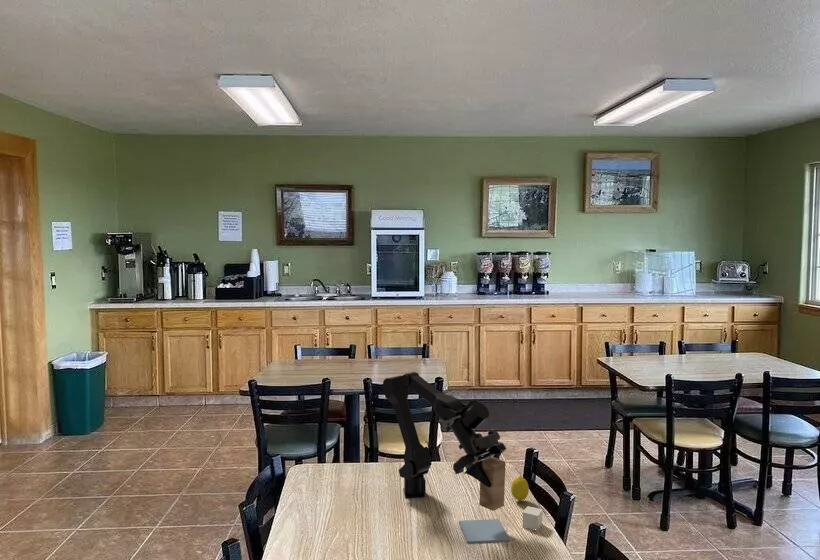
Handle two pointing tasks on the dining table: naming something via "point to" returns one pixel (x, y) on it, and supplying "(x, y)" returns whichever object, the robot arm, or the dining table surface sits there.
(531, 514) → the grey cube
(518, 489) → the lemon
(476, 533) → the slate mat
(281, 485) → the dining table surface
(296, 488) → the dining table surface
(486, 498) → the tall block
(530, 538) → the dining table surface
